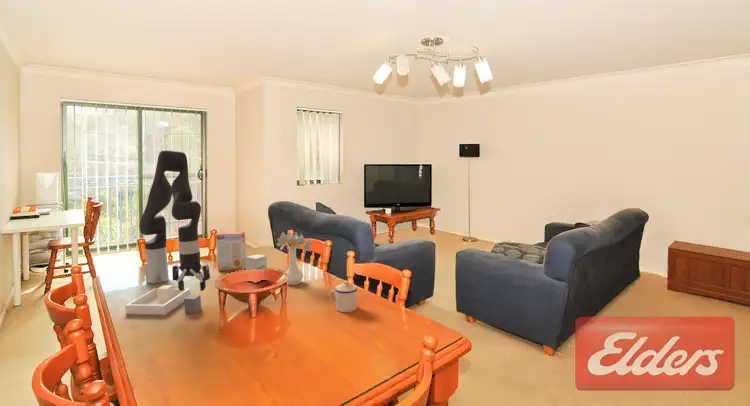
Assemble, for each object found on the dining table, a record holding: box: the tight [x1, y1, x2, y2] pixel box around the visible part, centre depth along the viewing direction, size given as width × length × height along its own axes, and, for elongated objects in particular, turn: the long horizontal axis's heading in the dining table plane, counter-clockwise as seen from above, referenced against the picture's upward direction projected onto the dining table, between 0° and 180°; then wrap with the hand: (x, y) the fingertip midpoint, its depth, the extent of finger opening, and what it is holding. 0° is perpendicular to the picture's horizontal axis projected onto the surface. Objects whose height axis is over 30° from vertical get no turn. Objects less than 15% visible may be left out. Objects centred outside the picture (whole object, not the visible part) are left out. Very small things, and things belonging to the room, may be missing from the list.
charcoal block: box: [183, 294, 202, 314], centre depth 163 cm, size 4×4×6 cm
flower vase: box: [276, 231, 314, 286], centre depth 196 cm, size 13×18×25 cm
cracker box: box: [215, 231, 247, 272], centre depth 219 cm, size 14×6×21 cm, turn 84°
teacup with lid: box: [328, 280, 358, 313], centre depth 165 cm, size 12×9×12 cm
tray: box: [124, 287, 191, 316], centre depth 169 cm, size 16×20×4 cm
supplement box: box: [245, 254, 268, 270], centre depth 201 cm, size 7×7×13 cm
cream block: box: [156, 284, 174, 302], centre depth 174 cm, size 4×4×6 cm
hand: (192, 290), depth 163 cm, fingers open, 8 cm apart
